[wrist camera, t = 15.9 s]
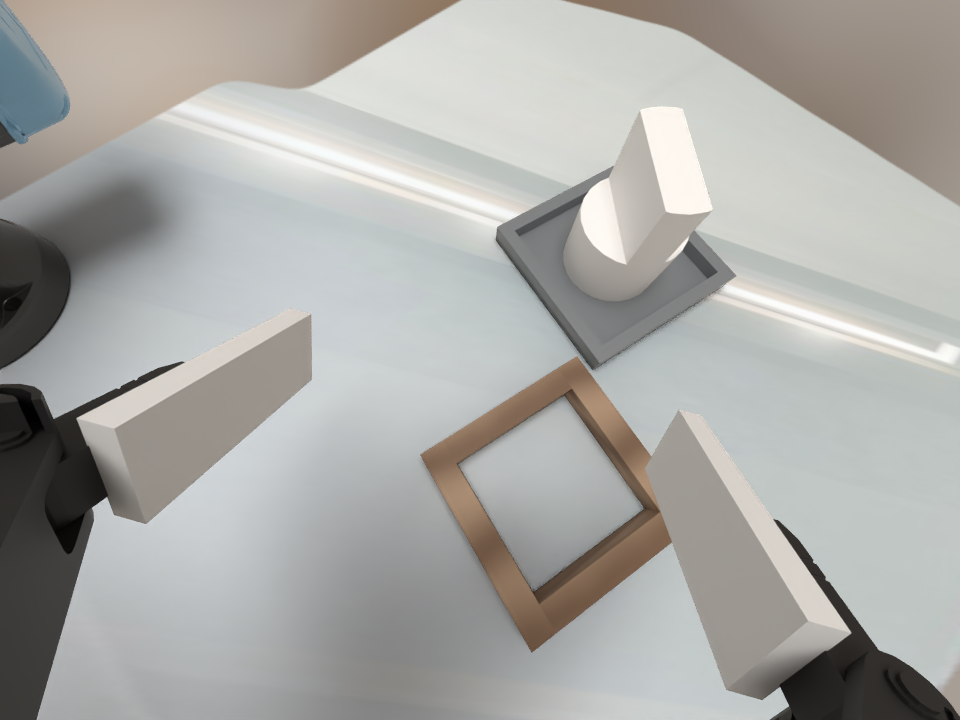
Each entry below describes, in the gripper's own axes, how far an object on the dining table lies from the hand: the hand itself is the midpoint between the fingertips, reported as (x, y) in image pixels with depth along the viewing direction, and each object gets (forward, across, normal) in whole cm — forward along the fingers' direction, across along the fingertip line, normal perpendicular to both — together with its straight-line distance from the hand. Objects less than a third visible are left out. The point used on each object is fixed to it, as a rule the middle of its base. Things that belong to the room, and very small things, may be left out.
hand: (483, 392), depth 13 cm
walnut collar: (+12, +7, -14) cm, 20 cm away
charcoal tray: (+27, +9, +1) cm, 28 cm away
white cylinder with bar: (+26, +8, +2) cm, 28 cm away
